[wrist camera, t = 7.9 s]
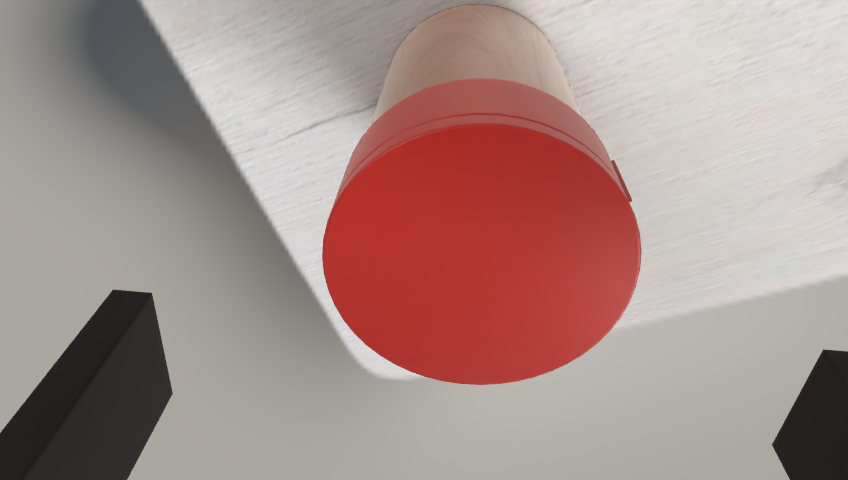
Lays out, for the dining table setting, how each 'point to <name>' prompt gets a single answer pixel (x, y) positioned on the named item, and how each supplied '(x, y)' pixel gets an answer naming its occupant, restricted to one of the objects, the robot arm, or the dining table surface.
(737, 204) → the dining table surface
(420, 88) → the jar
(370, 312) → the lid
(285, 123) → the dining table surface
